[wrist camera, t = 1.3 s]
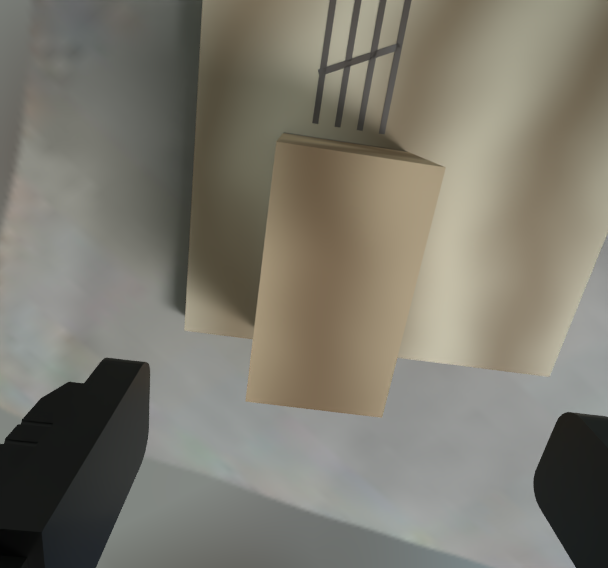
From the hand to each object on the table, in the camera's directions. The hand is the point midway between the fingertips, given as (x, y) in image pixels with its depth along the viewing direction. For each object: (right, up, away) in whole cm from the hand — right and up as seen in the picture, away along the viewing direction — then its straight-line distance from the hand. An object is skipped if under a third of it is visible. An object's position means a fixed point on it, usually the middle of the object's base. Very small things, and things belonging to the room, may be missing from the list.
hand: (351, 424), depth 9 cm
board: (+4, +10, +10) cm, 15 cm away
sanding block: (0, +4, +11) cm, 12 cm away
